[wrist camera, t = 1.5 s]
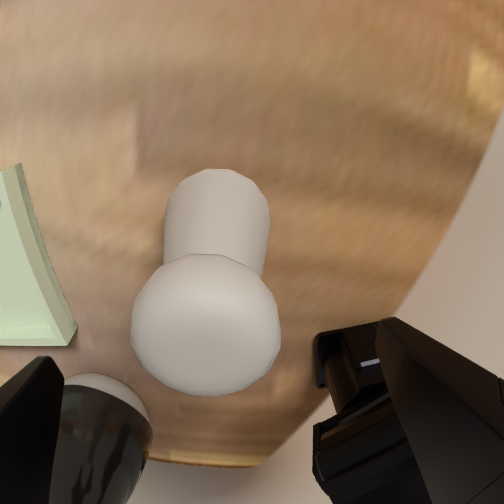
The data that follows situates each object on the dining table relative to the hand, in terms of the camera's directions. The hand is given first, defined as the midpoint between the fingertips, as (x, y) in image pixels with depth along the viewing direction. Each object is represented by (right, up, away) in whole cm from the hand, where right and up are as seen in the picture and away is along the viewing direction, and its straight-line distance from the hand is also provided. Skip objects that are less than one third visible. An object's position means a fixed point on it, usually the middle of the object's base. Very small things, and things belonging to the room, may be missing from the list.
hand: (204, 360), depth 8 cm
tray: (-21, +2, +12) cm, 24 cm away
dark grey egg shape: (-13, -11, +19) cm, 25 cm away
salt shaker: (-1, +5, +12) cm, 13 cm away
